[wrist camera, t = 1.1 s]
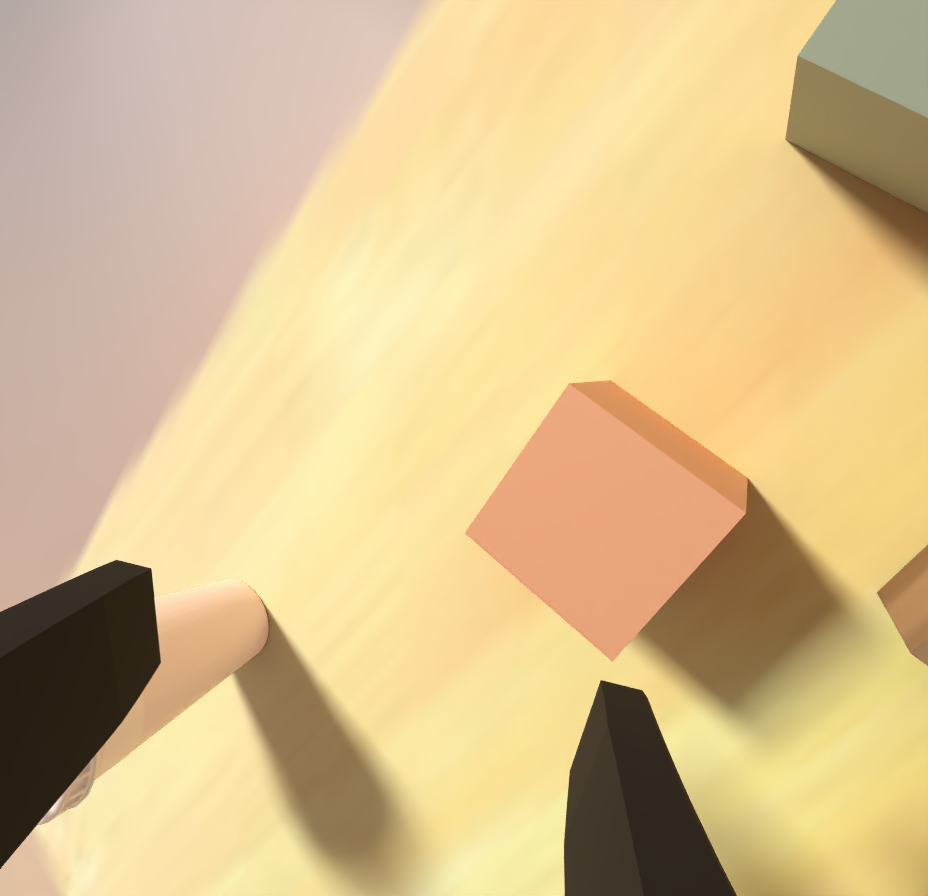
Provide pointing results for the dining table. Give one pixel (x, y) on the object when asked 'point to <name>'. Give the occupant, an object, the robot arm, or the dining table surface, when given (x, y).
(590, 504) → the terracotta cube
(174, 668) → the smoothie
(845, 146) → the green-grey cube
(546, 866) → the dining table surface
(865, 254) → the dining table surface
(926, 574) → the walnut block
